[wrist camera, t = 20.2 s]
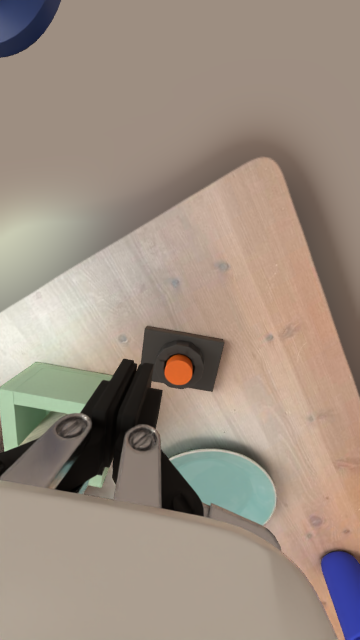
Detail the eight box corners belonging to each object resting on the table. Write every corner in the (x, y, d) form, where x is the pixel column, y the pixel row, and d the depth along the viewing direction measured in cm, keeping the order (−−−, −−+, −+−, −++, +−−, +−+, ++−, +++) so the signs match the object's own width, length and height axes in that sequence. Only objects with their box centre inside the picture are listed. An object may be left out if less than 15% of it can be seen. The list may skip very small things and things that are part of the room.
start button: (164, 375, 30) (162, 382, 29) (168, 352, 29) (166, 358, 28) (190, 380, 30) (189, 387, 29) (194, 356, 29) (194, 363, 28)
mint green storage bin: (39, 432, 38) (6, 470, 32) (35, 361, 34) (-3, 388, 27) (117, 446, 38) (101, 487, 31) (124, 377, 34) (107, 408, 27)
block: (140, 374, 34) (135, 386, 31) (146, 325, 31) (141, 333, 28) (211, 387, 33) (213, 399, 31) (223, 339, 31) (226, 348, 28)
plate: (292, 454, 36) (300, 470, 33) (247, 537, 43) (251, 556, 40) (161, 421, 36) (159, 435, 33) (137, 510, 43) (133, 528, 40)
